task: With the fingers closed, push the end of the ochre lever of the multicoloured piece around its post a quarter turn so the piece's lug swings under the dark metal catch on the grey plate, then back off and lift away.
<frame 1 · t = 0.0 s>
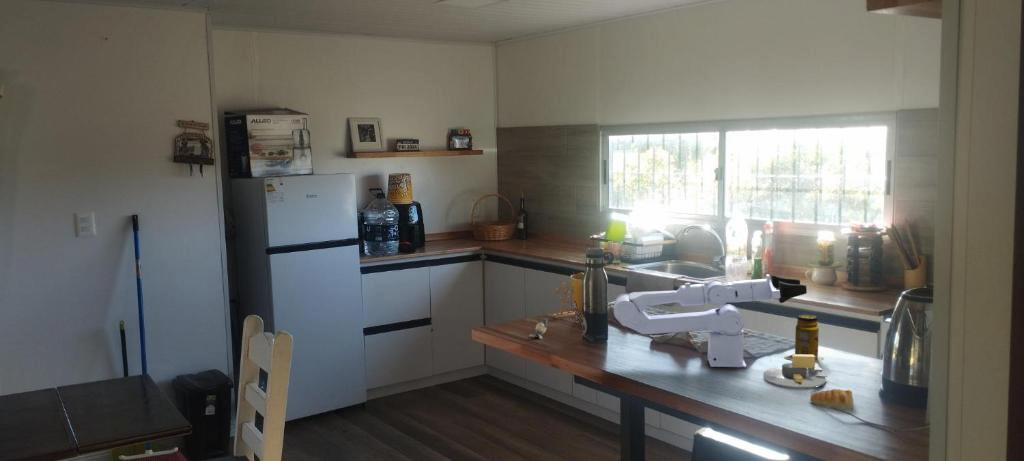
hand: (803, 286, 210), 22 cm above the counter, tool horizontal, fingers open, 7 cm apart
pastry: (834, 406, 183), on the counter
gingerbread man figurine: (565, 316, 275), on the counter
grey cream animal figurine: (541, 336, 250), on the counter
condiment: (803, 359, 219), on the counter
post plate: (794, 379, 201), on the counter
multicoloured piece: (799, 366, 199), point 4 cm above the counter, hinge at 0.0°
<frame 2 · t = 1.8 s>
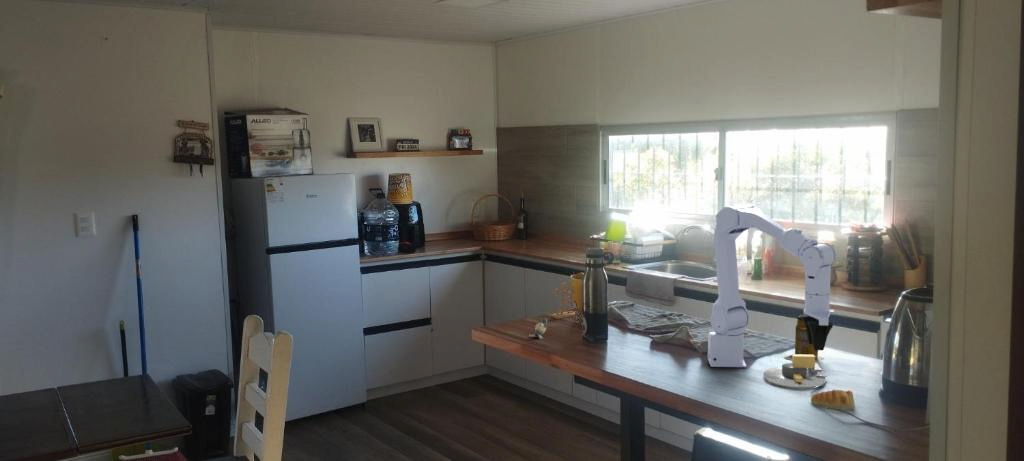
hand: (816, 346, 193), 10 cm above the counter, tool pointing down, fingers open, 5 cm apart
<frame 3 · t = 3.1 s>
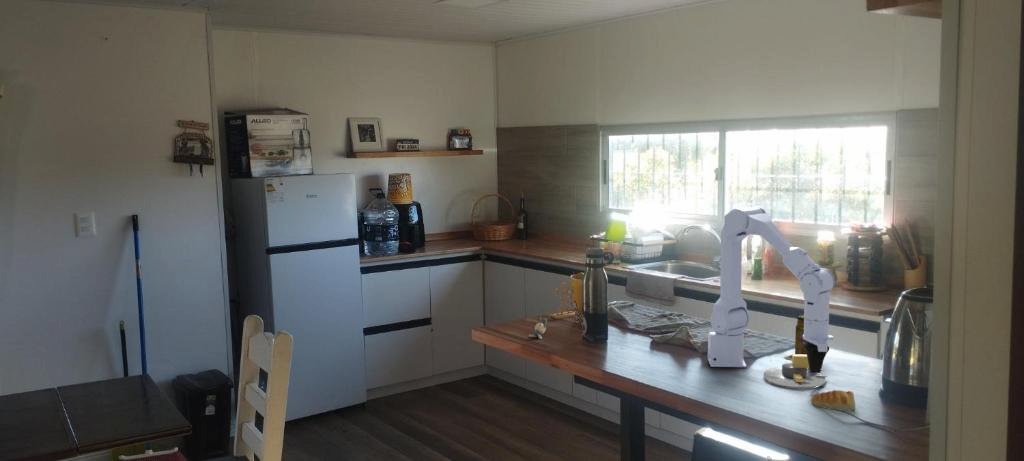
hand: (815, 372, 194), 4 cm above the counter, tool pointing down, fingers closed
nothing on the counter moved.
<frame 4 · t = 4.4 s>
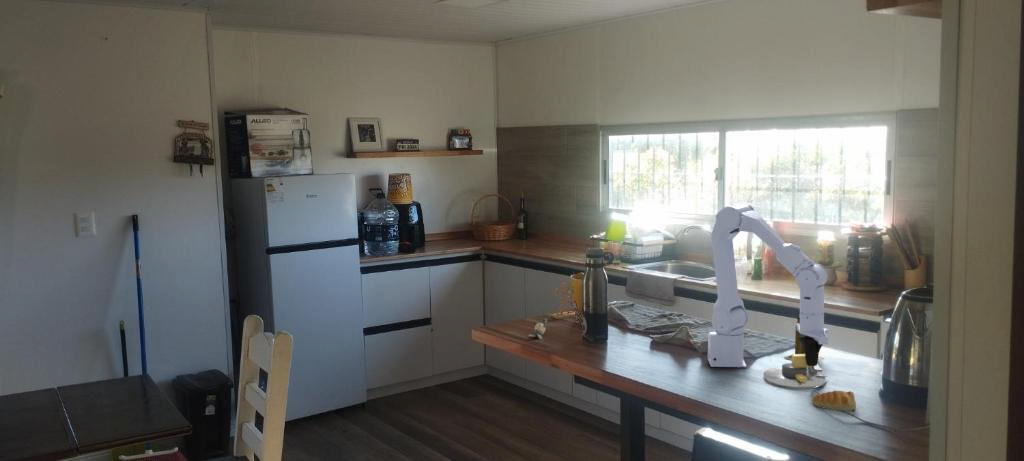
hand: (811, 365, 199), 4 cm above the counter, tool pointing down, fingers closed, pressing on multicoloured piece
multicoloured piece: (800, 366, 199), point 4 cm above the counter, hinge at 9.8°, touching gripper
everything else where it was.
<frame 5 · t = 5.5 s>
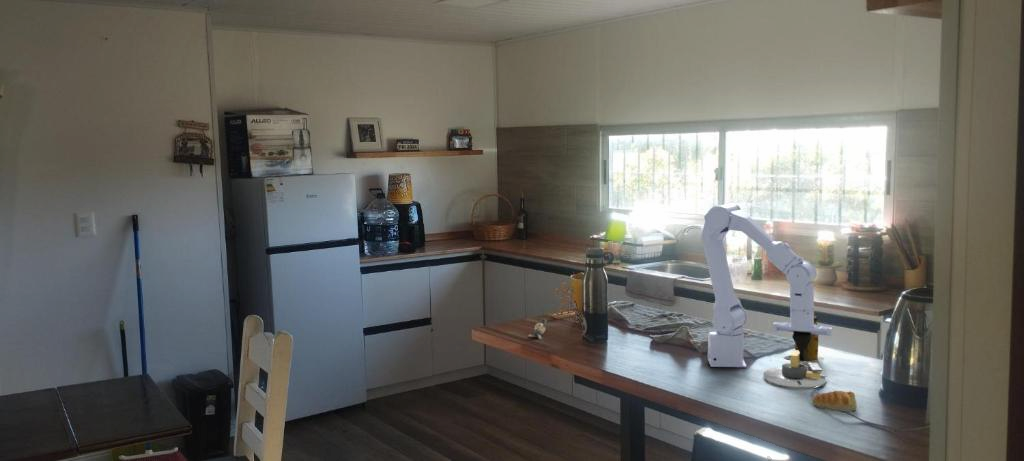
hand: (802, 360, 203), 4 cm above the counter, tool pointing down, fingers closed, pressing on multicoloured piece
multicoloured piece: (801, 364, 201), point 4 cm above the counter, hinge at 71.1°, touching gripper
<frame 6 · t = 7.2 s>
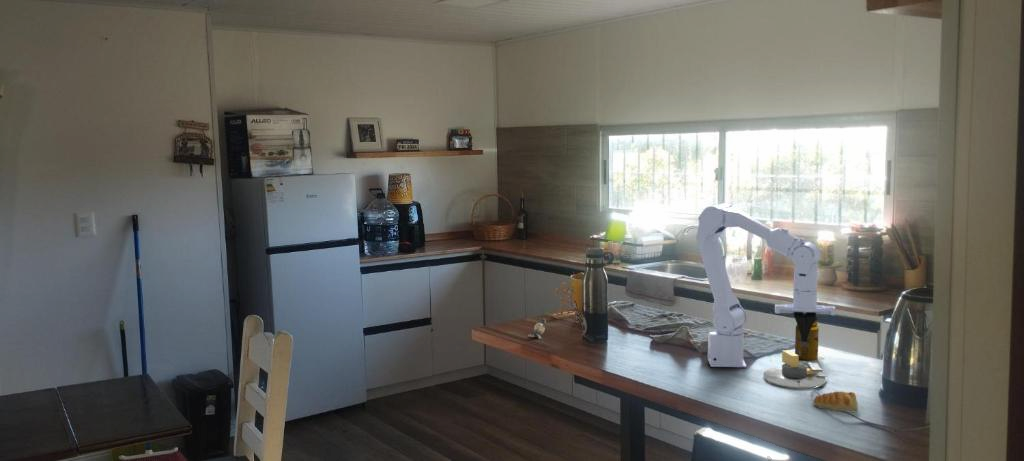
hand: (803, 340, 203), 9 cm above the counter, tool pointing down, fingers closed
multicoloured piece: (798, 363, 202), point 4 cm above the counter, hinge at 106.5°
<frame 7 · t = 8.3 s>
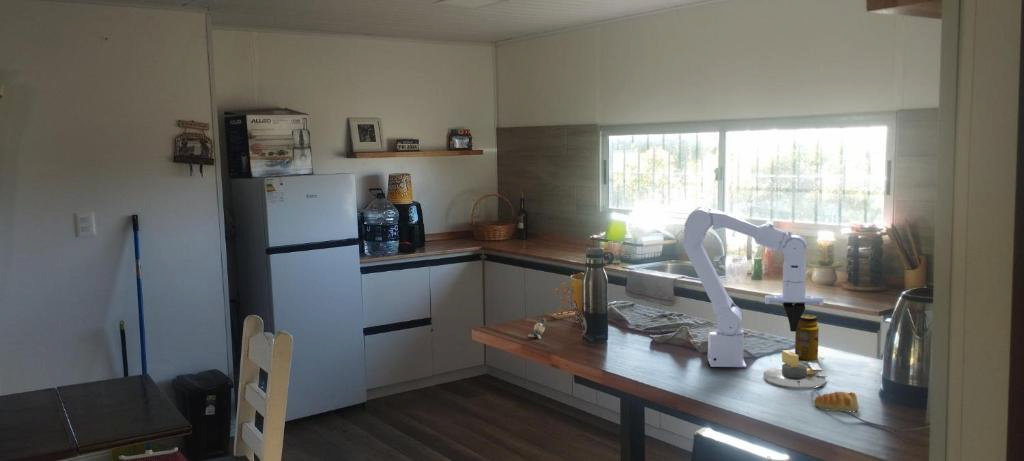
hand: (793, 330, 209), 10 cm above the counter, tool pointing down, fingers closed
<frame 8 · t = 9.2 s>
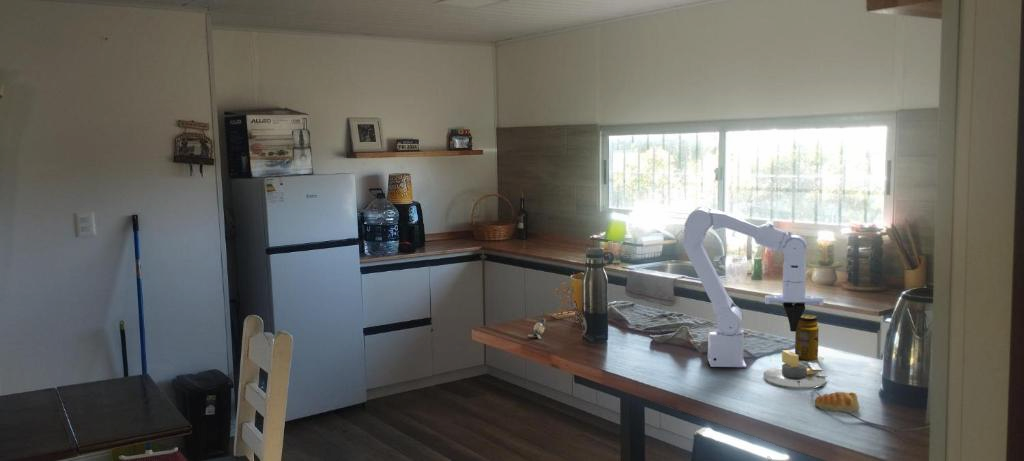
hand: (793, 330, 209), 10 cm above the counter, tool pointing down, fingers closed
at the end: multicoloured piece at +107° (first picture: +0°); the gripper is holding nothing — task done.
